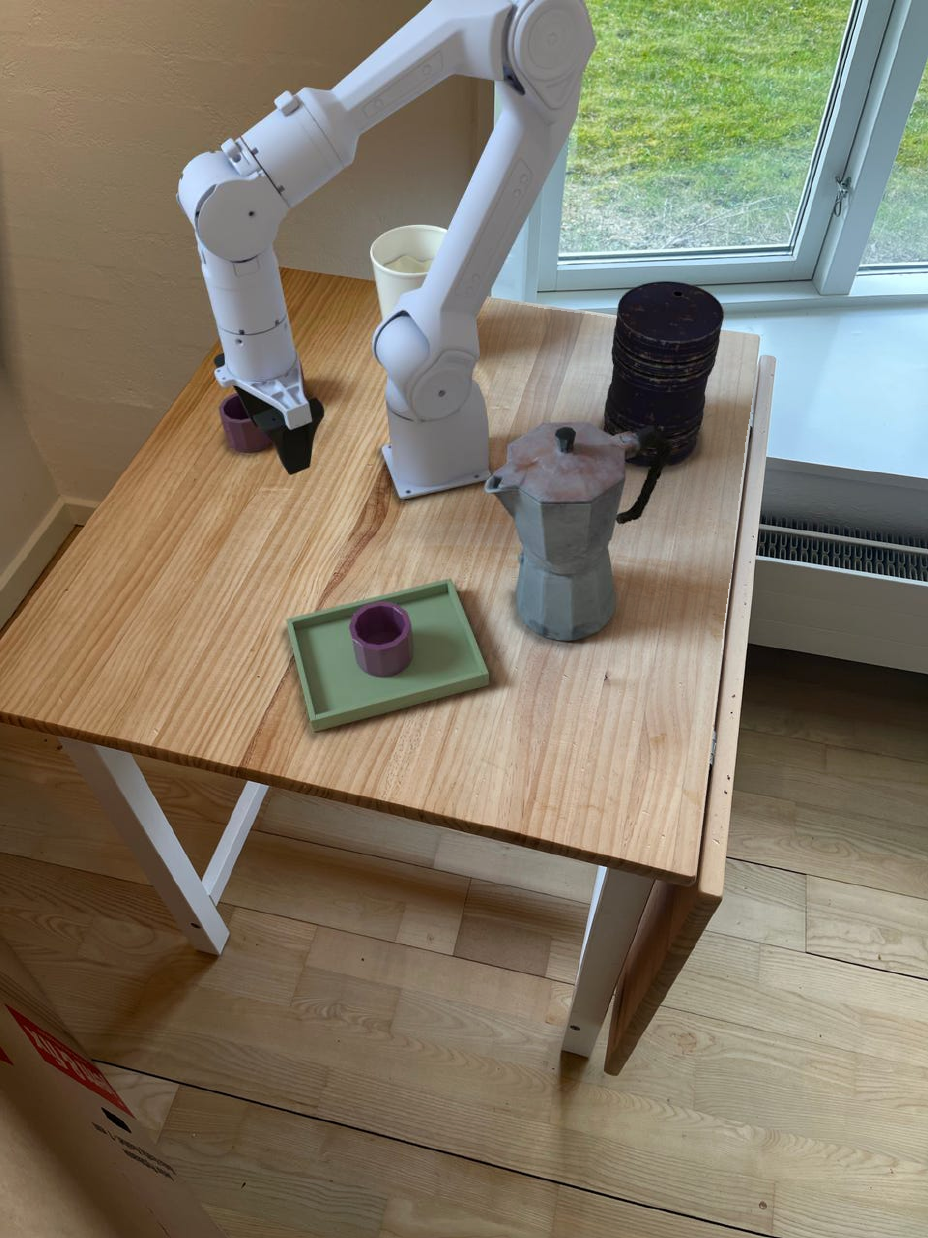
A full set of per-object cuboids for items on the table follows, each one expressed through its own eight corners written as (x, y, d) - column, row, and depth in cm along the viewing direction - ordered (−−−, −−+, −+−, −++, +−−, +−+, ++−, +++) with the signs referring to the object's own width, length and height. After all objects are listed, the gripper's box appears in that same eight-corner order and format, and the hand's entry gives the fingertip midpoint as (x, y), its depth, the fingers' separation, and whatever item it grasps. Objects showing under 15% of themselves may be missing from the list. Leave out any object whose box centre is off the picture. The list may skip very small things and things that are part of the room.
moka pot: (467, 591, 86) (461, 416, 70) (617, 539, 89) (643, 362, 74) (512, 669, 80) (516, 498, 65) (669, 610, 84) (710, 435, 68)
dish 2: (405, 624, 83) (401, 595, 80) (420, 668, 80) (417, 640, 77) (349, 639, 82) (343, 610, 79) (362, 684, 79) (357, 655, 76)
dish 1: (270, 417, 102) (263, 386, 99) (278, 446, 99) (271, 416, 96) (224, 427, 101) (215, 396, 98) (231, 457, 98) (222, 426, 95)
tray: (451, 590, 86) (451, 577, 85) (489, 685, 79) (489, 673, 78) (288, 631, 84) (285, 618, 82) (313, 732, 77) (310, 721, 76)
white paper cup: (384, 320, 112) (374, 224, 103) (467, 320, 112) (464, 223, 103) (377, 371, 106) (365, 274, 97) (464, 371, 106) (461, 273, 97)
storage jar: (684, 479, 94) (711, 352, 83) (589, 455, 97) (603, 329, 85) (707, 418, 100) (735, 291, 88) (617, 397, 102) (632, 272, 91)
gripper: (172, 286, 79) (210, 416, 89) (239, 378, 71) (272, 508, 81) (251, 261, 81) (279, 390, 91) (324, 347, 73) (346, 478, 83)
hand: (281, 444), depth 86 cm, fingers open, 7 cm apart
